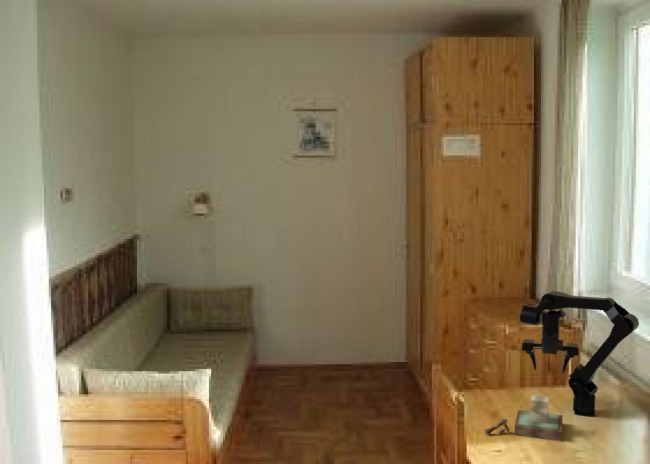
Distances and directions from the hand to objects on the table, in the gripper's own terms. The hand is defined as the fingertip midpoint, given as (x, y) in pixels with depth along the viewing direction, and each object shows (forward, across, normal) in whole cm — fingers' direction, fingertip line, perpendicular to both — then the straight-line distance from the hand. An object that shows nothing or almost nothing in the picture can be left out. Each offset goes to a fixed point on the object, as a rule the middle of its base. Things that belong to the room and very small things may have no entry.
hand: (549, 371), depth 240 cm
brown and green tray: (+12, -2, -24) cm, 27 cm away
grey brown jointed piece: (+12, -14, -31) cm, 37 cm away
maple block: (+9, -2, -24) cm, 26 cm away
